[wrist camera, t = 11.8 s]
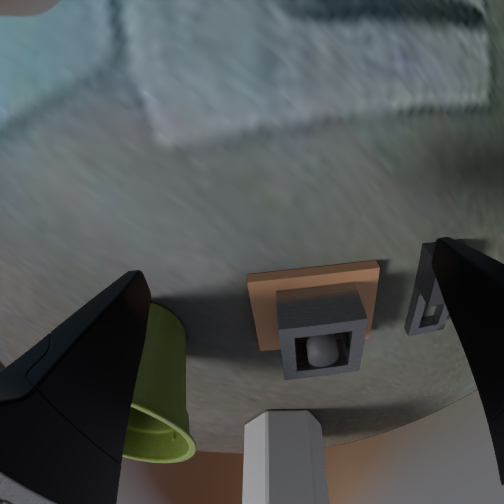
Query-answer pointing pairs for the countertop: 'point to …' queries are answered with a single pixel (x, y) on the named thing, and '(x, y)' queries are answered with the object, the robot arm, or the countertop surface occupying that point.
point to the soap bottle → (284, 459)
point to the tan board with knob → (266, 285)
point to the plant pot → (160, 395)
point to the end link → (320, 327)
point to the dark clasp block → (426, 297)
